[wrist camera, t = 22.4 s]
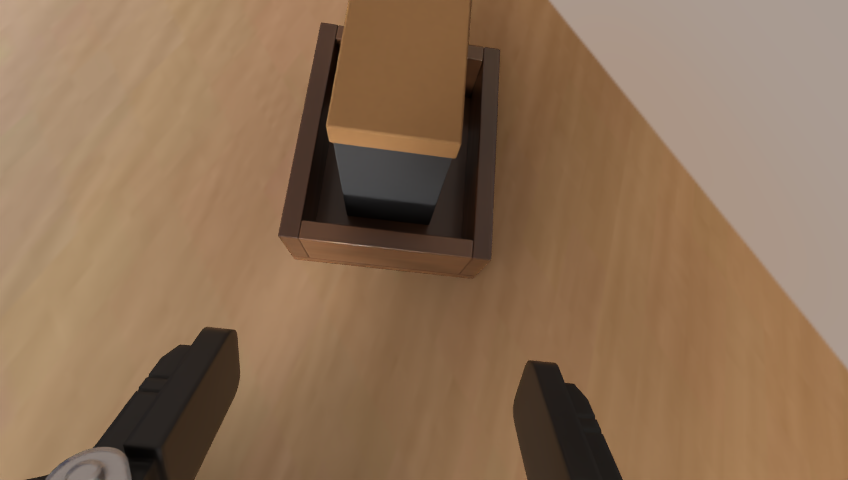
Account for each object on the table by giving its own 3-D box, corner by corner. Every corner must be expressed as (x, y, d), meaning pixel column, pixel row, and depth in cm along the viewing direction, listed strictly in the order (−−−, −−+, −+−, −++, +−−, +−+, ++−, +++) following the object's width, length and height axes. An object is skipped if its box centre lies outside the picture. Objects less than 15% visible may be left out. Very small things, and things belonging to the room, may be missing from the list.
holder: (483, 94, 24) (500, 48, 21) (473, 279, 21) (491, 260, 18) (328, 72, 24) (320, 22, 20) (294, 259, 20) (277, 236, 17)
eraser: (440, 117, 23) (472, -11, 15) (431, 227, 21) (462, 144, 13) (361, 106, 23) (353, -30, 15) (344, 217, 21) (325, 126, 13)
